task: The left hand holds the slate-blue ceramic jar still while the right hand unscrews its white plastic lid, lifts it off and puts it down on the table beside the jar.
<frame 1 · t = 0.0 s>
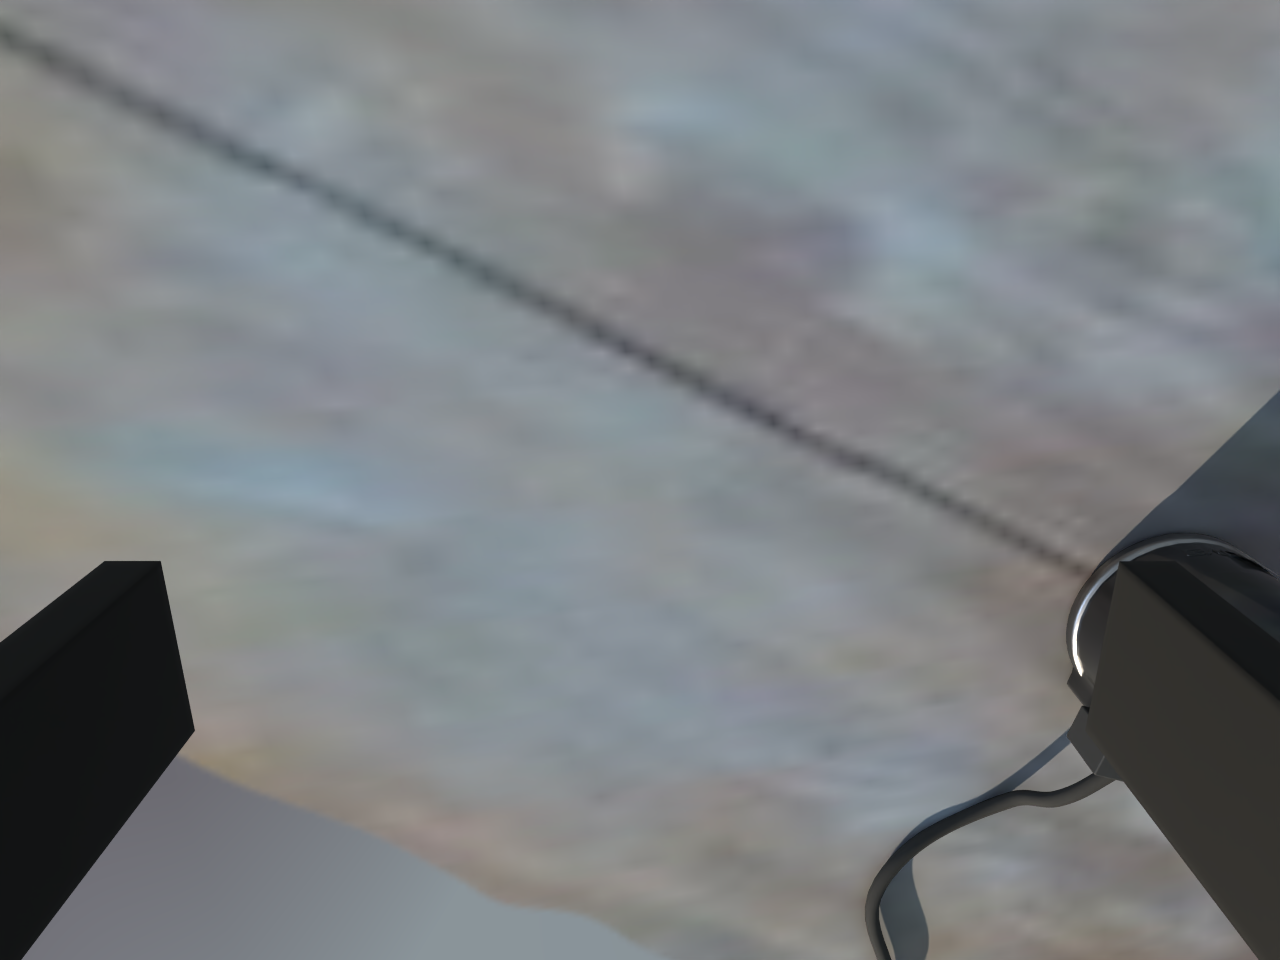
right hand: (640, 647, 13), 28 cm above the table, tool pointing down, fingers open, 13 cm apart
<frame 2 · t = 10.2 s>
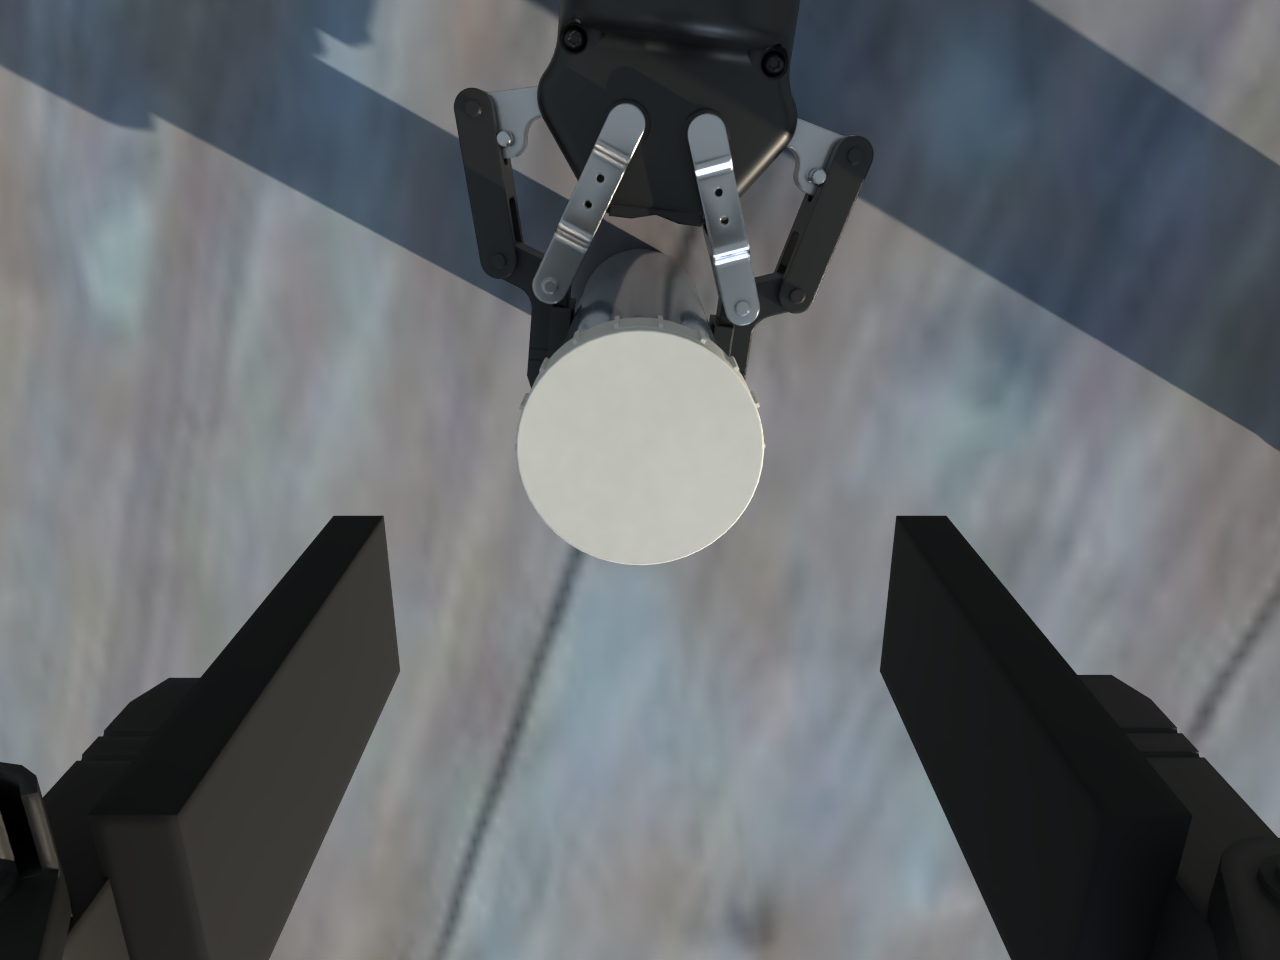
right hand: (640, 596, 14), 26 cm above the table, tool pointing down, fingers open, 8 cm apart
left hand: (632, 409, 33), fingers closed on jar, 5 cm apart
jar: (640, 308, 39), on the table, touching left hand
lid: (639, 448, 21), point 19 cm above the table, screwed on, not yet turned
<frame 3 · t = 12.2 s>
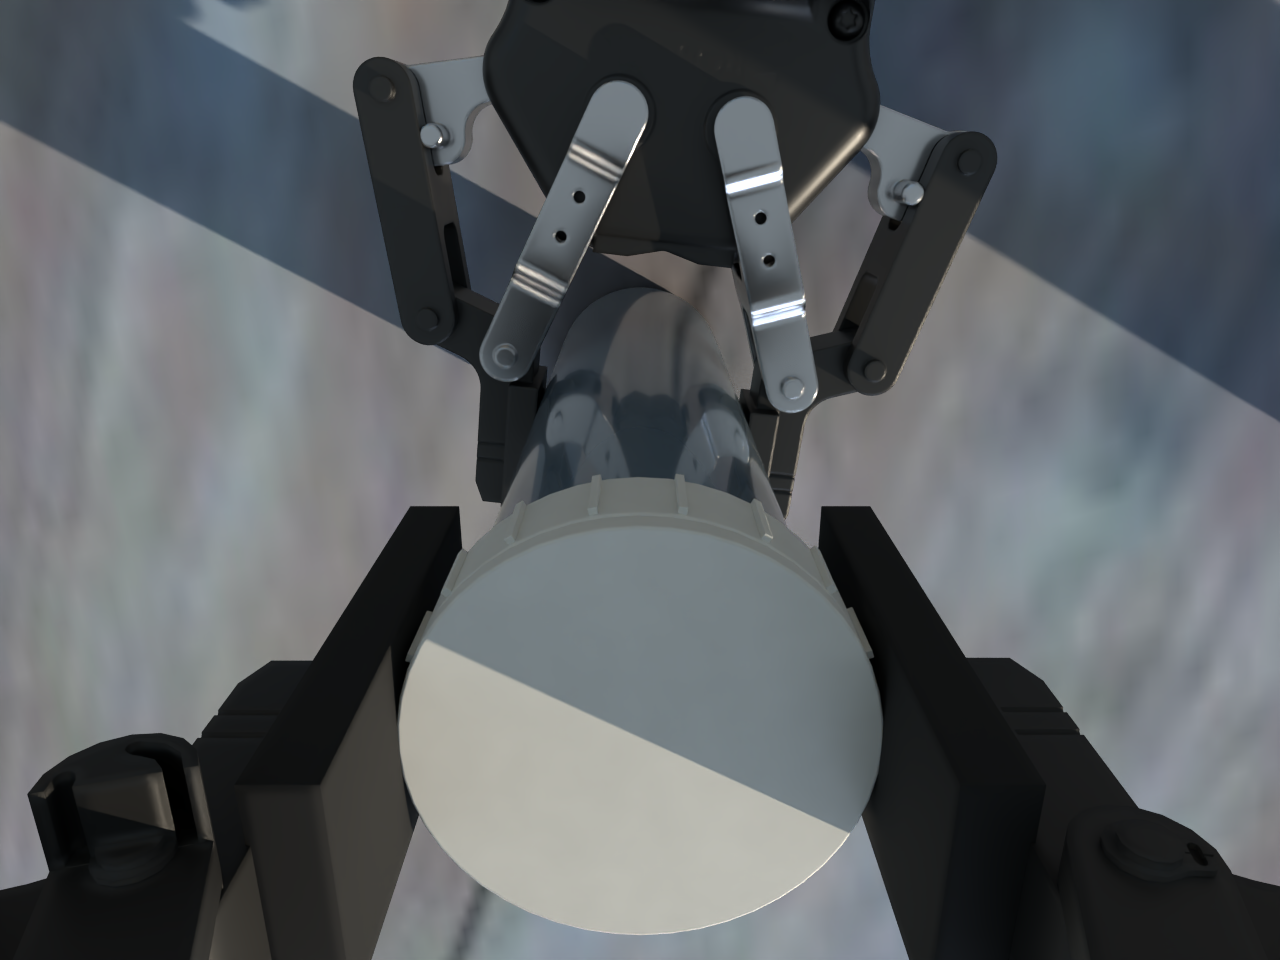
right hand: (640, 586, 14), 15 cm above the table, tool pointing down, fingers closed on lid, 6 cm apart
left hand: (629, 524, 23), fingers closed on jar, 5 cm apart
jar: (640, 366, 29), on the table, touching left hand
lid: (640, 732, 11), point 19 cm above the table, screwed on, not yet turned, touching right hand
when the right hand's fingers open (0 cm above the table, at t = 23.1 s): lid drops 3 cm, point 1 cm above the table.
when the left hand's fingers open (7 cm above the table, at t = 23.7 s): jar stays where it is, on the table.
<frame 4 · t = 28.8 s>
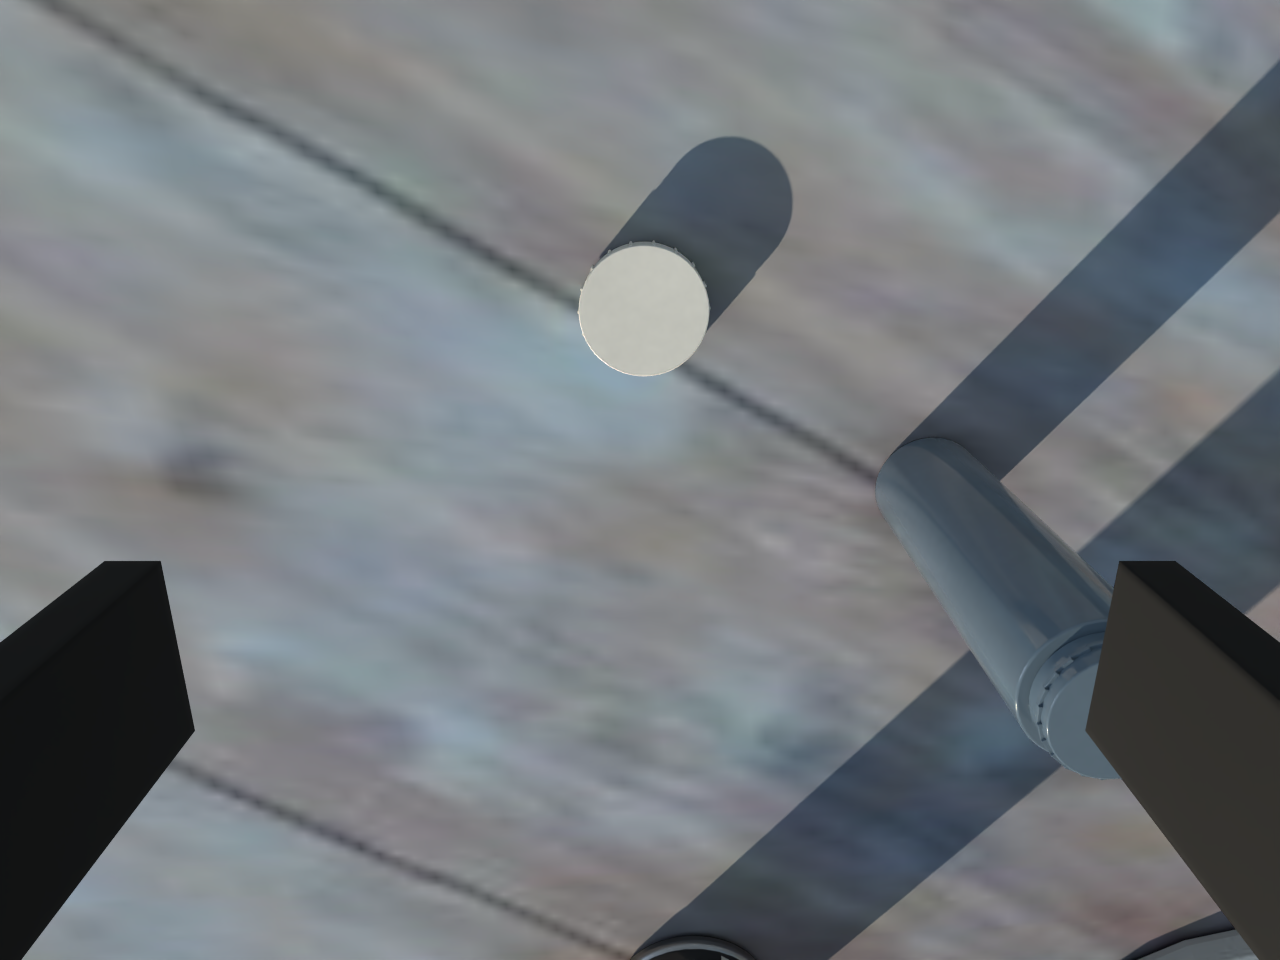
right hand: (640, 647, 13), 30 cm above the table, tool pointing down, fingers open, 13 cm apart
jar: (927, 486, 44), on the table
lid: (644, 311, 40), point 1 cm above the table, off its thread
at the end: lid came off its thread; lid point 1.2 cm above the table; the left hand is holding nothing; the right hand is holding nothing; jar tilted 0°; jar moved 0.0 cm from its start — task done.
